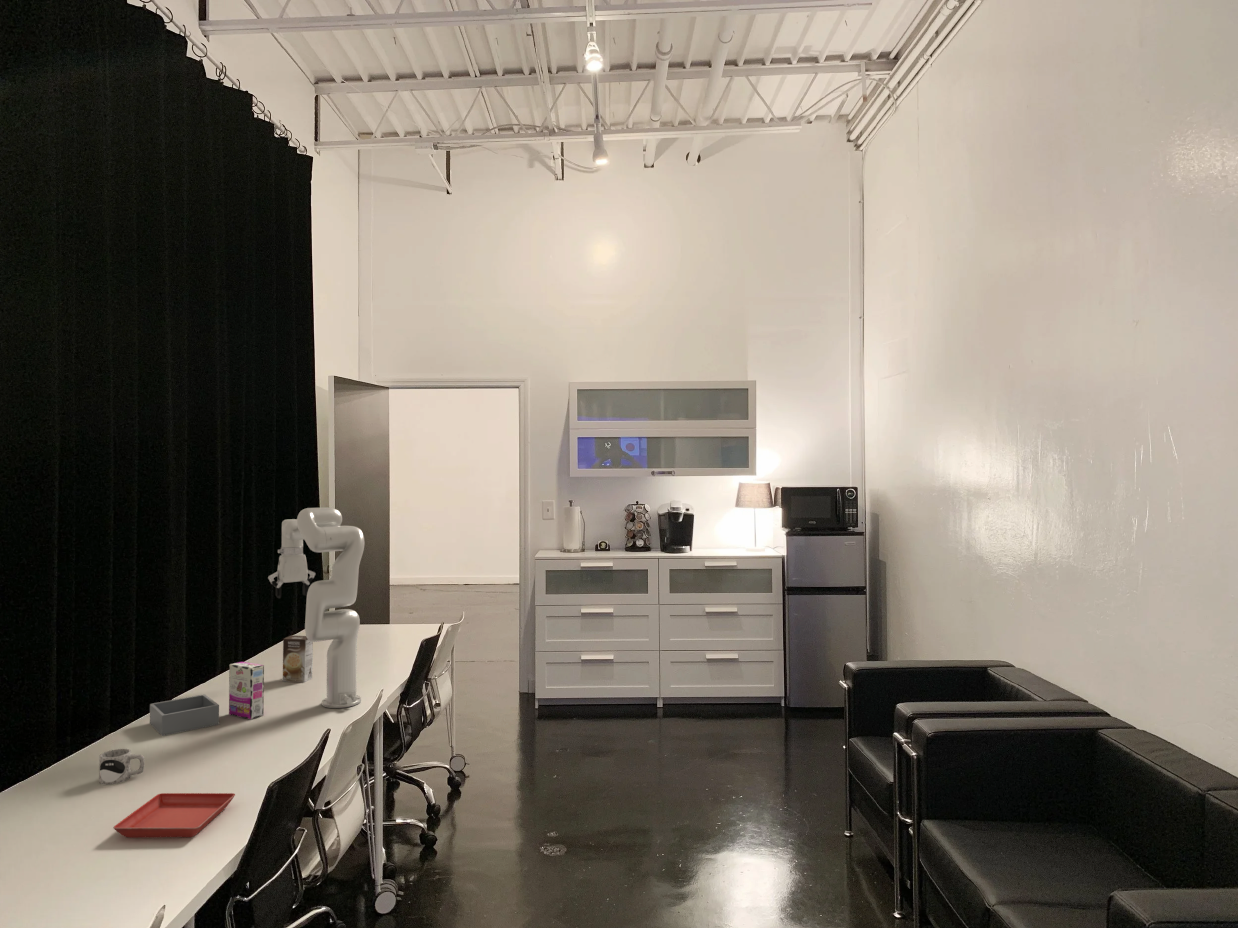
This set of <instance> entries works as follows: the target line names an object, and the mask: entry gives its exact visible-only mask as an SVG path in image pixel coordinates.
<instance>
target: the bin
mask: <svg viewBox="0 0 1238 928" xmlns="http://www.w3.org/2000/svg"><path fill="white" fill-rule="evenodd" d="M149 725H150V726H152V727H153V728H154V730H156V732H157V733H158V734H159V735H161V737H164V736H169V735H173V734H177V733H183V732H189V731H193V730H197V729H203V728H209V727H212V726H218V725H220V704H219V703H217V702H216V701H214V700H213V699H212V698H210V696H208V695H207V694H198V695H194V696H188V697H181V698H175V699H171V700H165V701H160V702H159V701H158V702H154V703H149Z"/></svg>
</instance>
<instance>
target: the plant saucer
mask: <svg viewBox="0 0 1238 928" xmlns="http://www.w3.org/2000/svg"><path fill="white" fill-rule="evenodd" d="M235 796H236V793H232V792H231V793H230V792H229V793H228V792H226V793H225V792H224V793H221V792H219V793H218V792H217V793H216V792H215V793H213V792H211V793H208V792H202V793H201V792H191V793H190V792H188V793H187V792H184V793H183V792H174V793H173V792H172V793H171V792H166V793H165V792H162V793H158V794H156V795H155V796H153V797H152V798H151V799H149V800H148V801H146V802H145V803H143V804H142V805H141V806H140V807H138V808H137V809H135V810H134V811H133V812H131V814H128V815H127V816H126V817H125V818H123V819H122V820H121V821H119V822H118V823H116V824H115V825H114V826H113V830H115V831H116V832H117V833H118V834H120V835H121V836H123V837H125V838H127V839H128V838H133V839H135V838H136V839H138V838H139V839H140V838H141V839H143V838H144V839H145V838H147V839H148V838H154V839H155V838H158V839H159V838H160V839H161V838H193V837H195V836H197V834H199V833H200V832H201V831H202V830H203V829H204V828H206V826H208V824H209V823H211V822H212V821H213V820H214V819H215V818H216V817H217V816H219V815H220V814H221V813H222V812H223V811H224V810H225V809H226V808H227V807H228V806H229V804H230V803H232V801H233V799H234V797H235Z"/></svg>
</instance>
